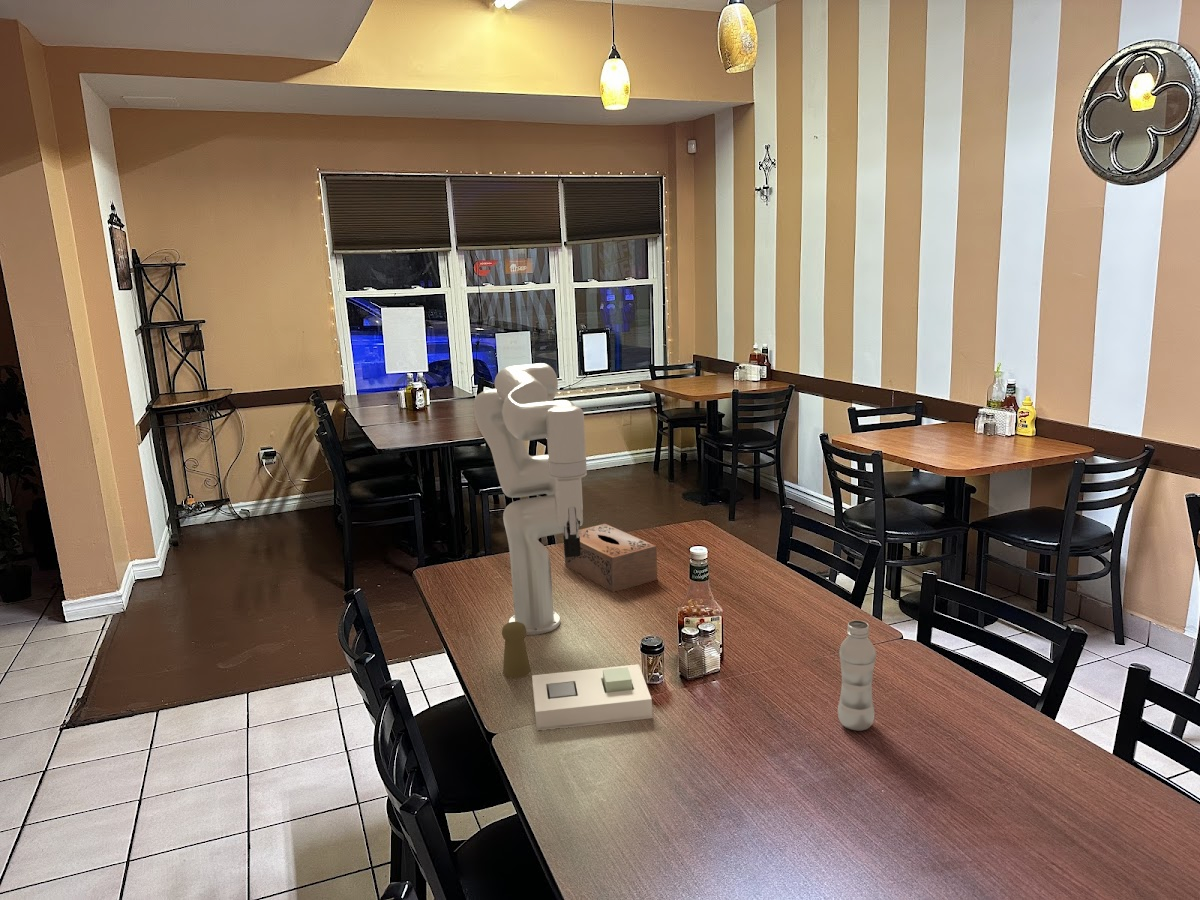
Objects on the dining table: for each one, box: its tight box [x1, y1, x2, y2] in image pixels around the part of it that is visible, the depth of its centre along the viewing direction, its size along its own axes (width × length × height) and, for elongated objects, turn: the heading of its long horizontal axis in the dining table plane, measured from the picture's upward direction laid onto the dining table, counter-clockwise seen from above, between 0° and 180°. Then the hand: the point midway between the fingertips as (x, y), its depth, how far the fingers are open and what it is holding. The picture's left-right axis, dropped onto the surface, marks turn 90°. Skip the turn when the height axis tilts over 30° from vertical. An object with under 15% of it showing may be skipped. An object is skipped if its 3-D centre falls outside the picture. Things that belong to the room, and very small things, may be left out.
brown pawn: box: [501, 622, 532, 679], centre depth 171 cm, size 6×6×11 cm
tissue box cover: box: [562, 523, 658, 593], centre depth 226 cm, size 26×14×10 cm, turn 33°
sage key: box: [603, 667, 632, 693], centre depth 157 cm, size 5×5×3 cm
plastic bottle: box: [837, 619, 877, 732], centre depth 145 cm, size 6×7×20 cm
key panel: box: [531, 663, 653, 732], centre depth 157 cm, size 14×22×4 cm, turn 97°
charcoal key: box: [548, 682, 576, 699], centre depth 157 cm, size 5×5×3 cm
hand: (572, 555), depth 163 cm, fingers closed
